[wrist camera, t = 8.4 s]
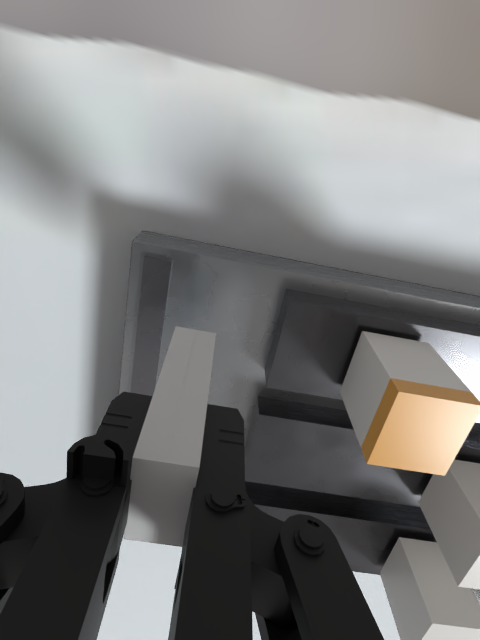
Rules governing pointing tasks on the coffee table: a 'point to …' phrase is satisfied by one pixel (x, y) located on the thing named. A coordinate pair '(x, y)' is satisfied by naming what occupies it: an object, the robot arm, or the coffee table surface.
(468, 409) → the block
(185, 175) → the coffee table surface
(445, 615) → the block
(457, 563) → the block
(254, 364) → the panel
